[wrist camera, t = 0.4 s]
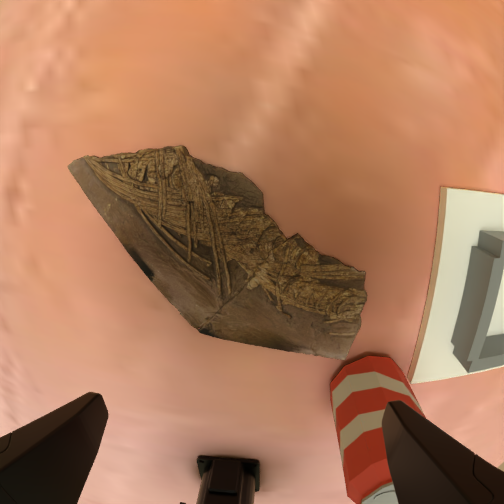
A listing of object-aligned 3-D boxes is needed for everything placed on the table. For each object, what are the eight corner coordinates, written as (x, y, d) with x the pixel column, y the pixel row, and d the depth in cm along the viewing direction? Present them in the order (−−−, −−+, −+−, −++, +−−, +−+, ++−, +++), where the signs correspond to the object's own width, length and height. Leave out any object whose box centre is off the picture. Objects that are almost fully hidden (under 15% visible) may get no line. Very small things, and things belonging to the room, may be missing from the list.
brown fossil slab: (398, 301, 22) (402, 307, 21) (302, 393, 25) (303, 401, 24) (118, 86, 19) (112, 83, 18) (52, 208, 22) (44, 210, 21)
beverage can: (340, 348, 23) (376, 474, 12) (410, 354, 23) (469, 462, 11) (318, 404, 25) (334, 523, 13) (384, 407, 25) (419, 513, 13)
